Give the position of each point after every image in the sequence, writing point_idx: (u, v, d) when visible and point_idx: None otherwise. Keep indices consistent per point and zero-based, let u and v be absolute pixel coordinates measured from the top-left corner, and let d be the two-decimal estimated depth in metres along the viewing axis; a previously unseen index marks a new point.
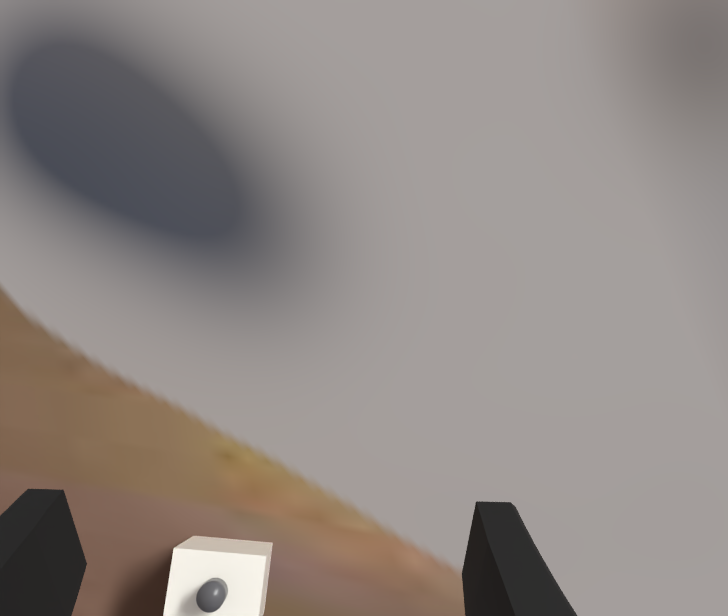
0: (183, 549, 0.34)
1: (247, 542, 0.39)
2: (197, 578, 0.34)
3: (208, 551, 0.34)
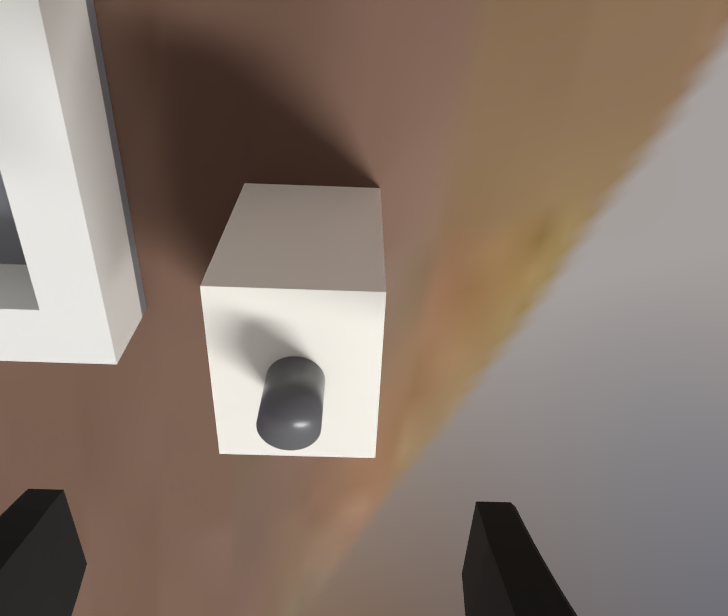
0: (382, 310, 0.14)
1: None
2: (319, 346, 0.14)
3: (380, 360, 0.15)
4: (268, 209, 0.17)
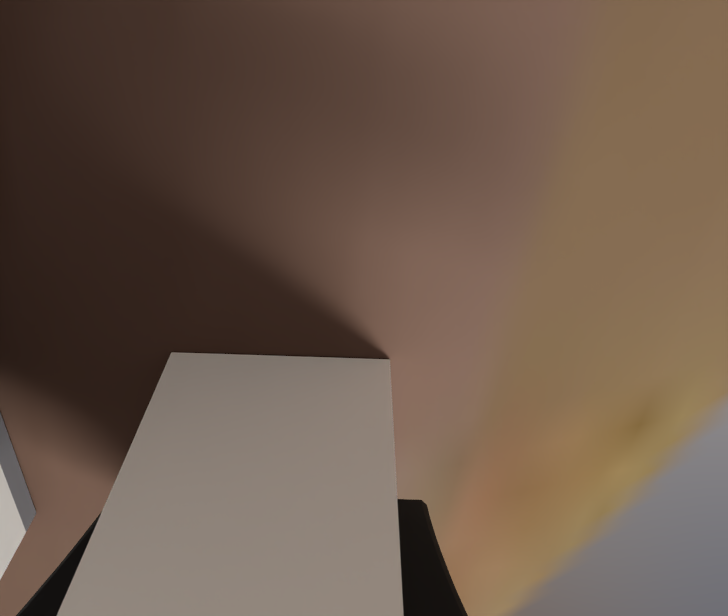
0: None
1: None
2: None
3: None
4: (201, 424, 0.10)
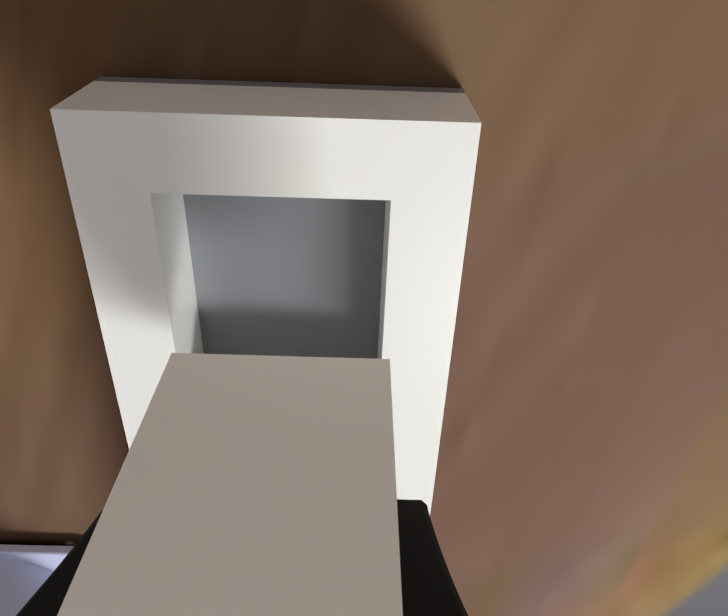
0: None
1: None
2: None
3: None
4: (201, 424, 0.10)
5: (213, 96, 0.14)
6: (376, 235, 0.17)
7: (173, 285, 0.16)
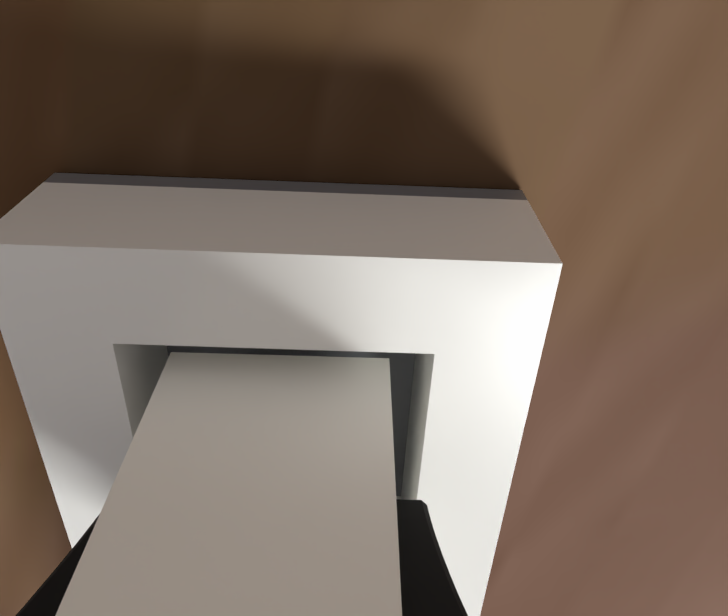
0: None
1: None
2: None
3: None
4: (200, 424, 0.10)
5: (198, 211, 0.11)
6: (405, 362, 0.14)
7: None
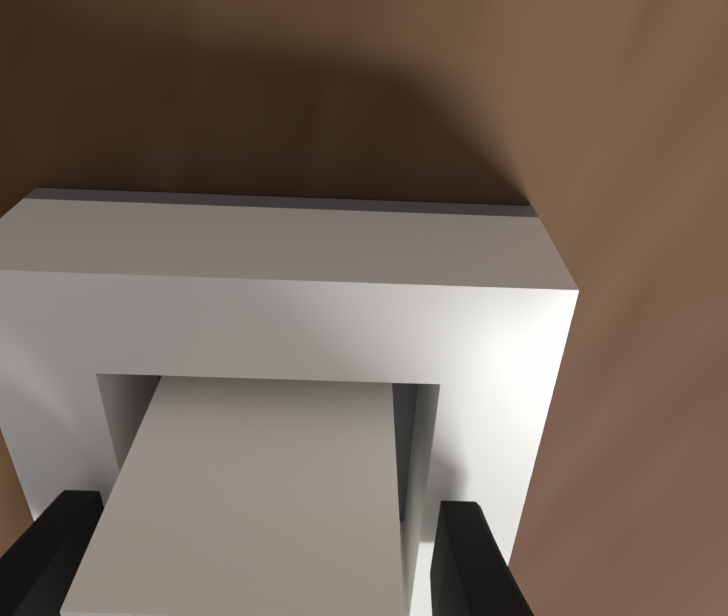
0: None
1: None
2: None
3: None
4: (214, 385, 0.11)
5: (187, 231, 0.10)
6: (408, 386, 0.13)
7: None
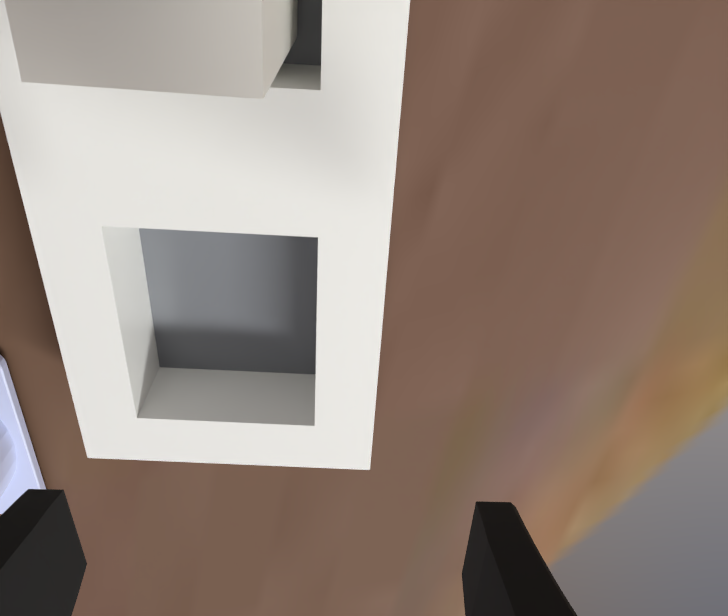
0: None
1: None
2: None
3: None
4: None
5: None
6: None
7: None
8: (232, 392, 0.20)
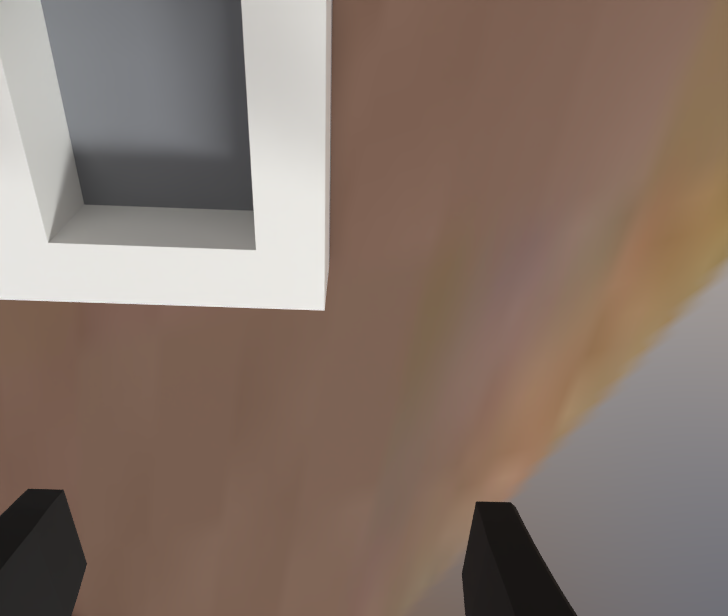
0: None
1: None
2: None
3: None
4: None
5: None
6: None
7: None
8: (164, 223, 0.18)
